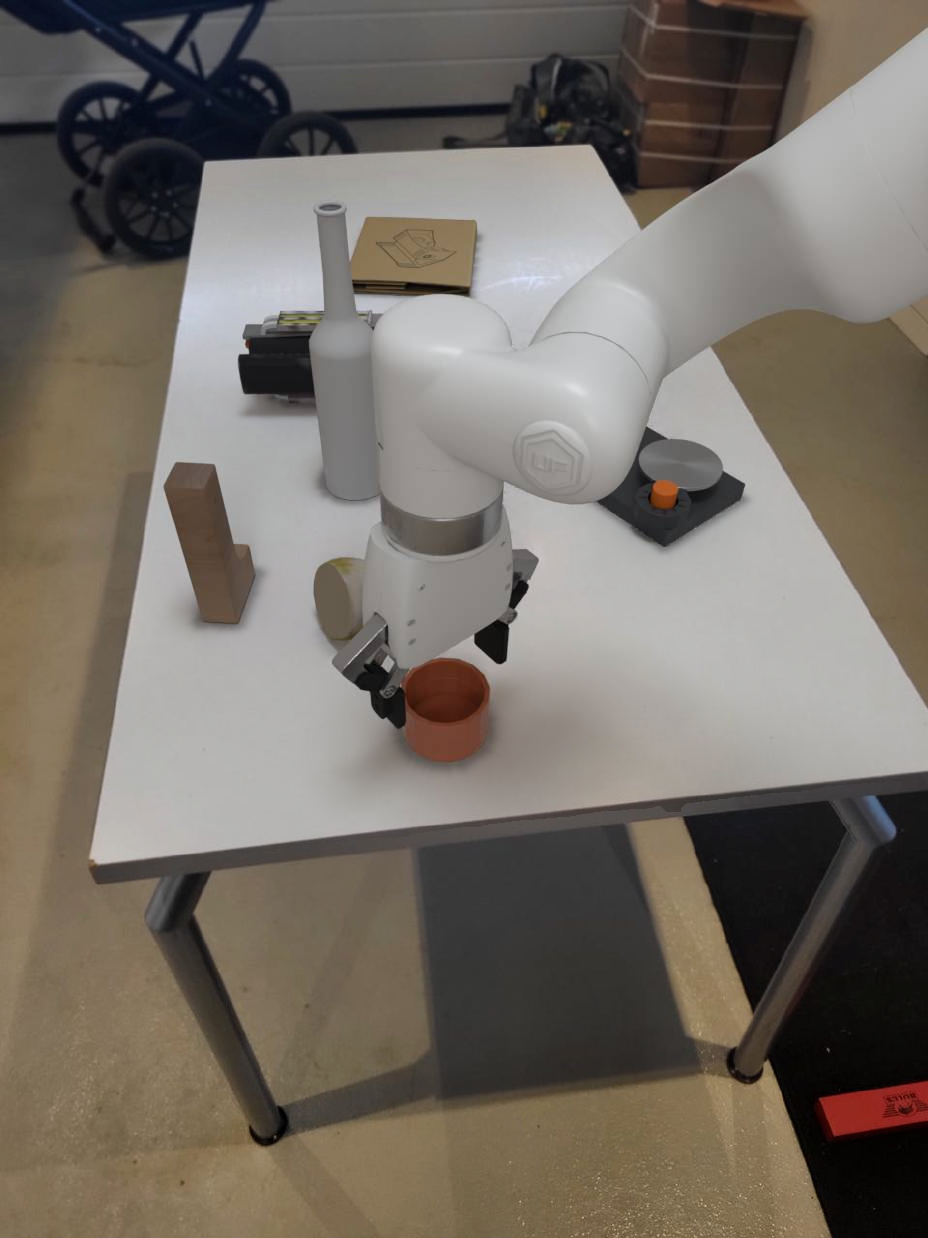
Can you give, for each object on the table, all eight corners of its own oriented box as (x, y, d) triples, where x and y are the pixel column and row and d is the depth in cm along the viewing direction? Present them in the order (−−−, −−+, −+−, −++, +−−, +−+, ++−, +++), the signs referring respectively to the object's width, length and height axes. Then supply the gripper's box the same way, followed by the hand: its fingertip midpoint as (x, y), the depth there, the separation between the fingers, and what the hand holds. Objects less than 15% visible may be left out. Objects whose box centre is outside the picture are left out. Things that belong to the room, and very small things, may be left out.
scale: (742, 499, 91) (751, 471, 88) (659, 551, 85) (665, 523, 83) (640, 438, 98) (645, 411, 96) (557, 482, 93) (560, 454, 90)
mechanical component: (473, 418, 101) (474, 337, 94) (247, 419, 101) (232, 337, 93) (471, 375, 107) (472, 296, 100) (259, 375, 107) (245, 296, 100)
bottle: (374, 505, 90) (351, 225, 70) (315, 493, 91) (275, 215, 71) (397, 468, 94) (382, 195, 74) (340, 457, 95) (310, 186, 75)
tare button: (680, 503, 85) (683, 488, 84) (663, 512, 84) (666, 498, 83) (661, 491, 87) (664, 476, 85) (644, 500, 86) (647, 486, 84)
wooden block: (238, 624, 78) (203, 488, 67) (201, 622, 78) (161, 485, 67) (256, 574, 82) (226, 438, 72) (221, 572, 83) (187, 436, 72)
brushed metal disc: (739, 469, 89) (740, 466, 88) (684, 502, 85) (685, 499, 85) (675, 432, 93) (676, 429, 93) (620, 462, 89) (621, 459, 89)
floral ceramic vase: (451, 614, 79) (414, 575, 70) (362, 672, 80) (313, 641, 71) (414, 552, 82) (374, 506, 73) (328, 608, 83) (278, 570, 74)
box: (470, 298, 122) (470, 282, 120) (344, 293, 122) (343, 277, 121) (478, 234, 137) (479, 219, 135) (366, 230, 137) (365, 215, 136)
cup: (505, 731, 70) (508, 695, 67) (438, 777, 67) (437, 742, 64) (451, 681, 74) (451, 644, 70) (385, 722, 71) (382, 686, 67)
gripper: (505, 427, 60) (494, 604, 72) (288, 530, 52) (317, 709, 65) (584, 480, 56) (558, 658, 68) (361, 600, 48) (377, 777, 61)
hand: (441, 683), depth 66 cm, fingers open, 9 cm apart
